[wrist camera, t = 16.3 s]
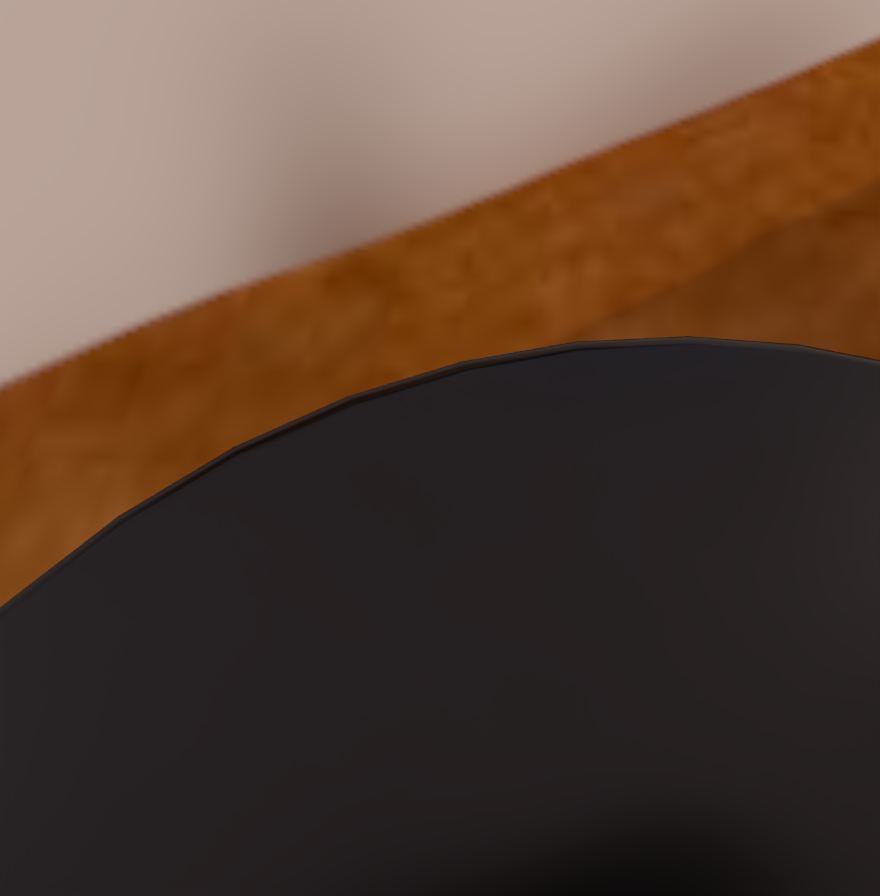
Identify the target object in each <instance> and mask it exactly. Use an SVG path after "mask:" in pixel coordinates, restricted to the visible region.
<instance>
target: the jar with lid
mask: <svg viewBox="0 0 880 896" xmlns="http://www.w3.org/2000/svg"><path fill="white" fill-rule="evenodd" d="M0 896H880V360H876V359H871V358H866V357H860V356H855V355H850V354H845V353H840V352H835V351H830V350H825V349H819V348H814V347H809V346H804V345H798V344H784V343H771V342H758V341H744V340H731V339H717V338H704V337H690V336H686V337H665V338H644V339H623V340H602V341H581V342H572V343H566V344H560V345H555V346H549V347H543V348H537V349H532V350H526V351H520V352H514V353H508V354H503V355H497V356H491V357H485V358H480V359H474V360H468V361H463V362H459V363H455V364H452V365H449V366H445V367H442V368H439V369H436V370H432V371H429V372H426V373H423V374H419V375H416V376H413V377H409V378H406V379H403V380H400V381H396V382H393V383H390V384H386V385H383V386H380V387H377V388H373V389H370V390H367V391H364V392H360V393H357V394H354V395H350V396H347V397H345V398H343V399H340V400H338V401H336V402H334V403H331V404H329V405H327V406H325V407H323V408H320V409H318V410H316V411H314V412H311V413H309V414H307V415H305V416H302V417H300V418H298V419H296V420H293V421H291V422H289V423H287V424H284V425H282V426H280V427H278V428H275V429H273V430H271V431H269V432H266V433H264V434H262V435H260V436H257V437H255V438H253V439H251V440H249V441H246V442H244V443H242V444H240V445H237V446H235V447H233V448H231V449H230V450H228V451H226V452H225V453H223V454H221V455H220V456H218V457H216V458H215V459H213V460H211V461H210V462H208V463H206V464H205V465H203V466H201V467H200V468H198V469H196V470H195V471H193V472H191V473H190V474H188V475H186V476H185V477H183V478H181V479H180V480H178V481H176V482H175V483H173V484H171V485H170V486H168V487H166V488H165V489H163V490H161V491H160V492H158V493H156V494H155V495H153V496H151V497H150V498H148V499H146V500H145V501H143V502H141V503H140V504H138V505H136V506H135V507H133V508H131V509H130V510H128V511H126V512H125V513H123V514H121V515H120V516H118V517H117V518H115V519H114V520H113V521H112V522H110V523H109V524H108V525H106V526H105V527H104V528H103V529H101V530H100V531H99V532H97V533H96V534H95V535H93V536H92V537H91V538H90V539H88V540H87V541H86V542H84V543H83V544H82V545H80V546H79V547H78V548H77V549H75V550H74V551H73V552H71V553H70V554H69V555H67V556H66V557H65V558H64V559H62V560H61V561H60V562H58V563H57V564H56V565H54V566H53V567H52V568H51V569H49V570H48V571H47V572H45V573H44V574H43V575H42V576H40V577H39V578H38V579H36V580H35V581H34V582H32V583H31V584H30V585H29V586H27V587H26V588H25V589H23V590H22V591H21V592H19V593H18V594H17V595H16V596H14V597H13V598H12V599H10V600H9V601H8V602H6V603H5V604H4V605H3V606H2V607H1V608H0Z"/></svg>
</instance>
